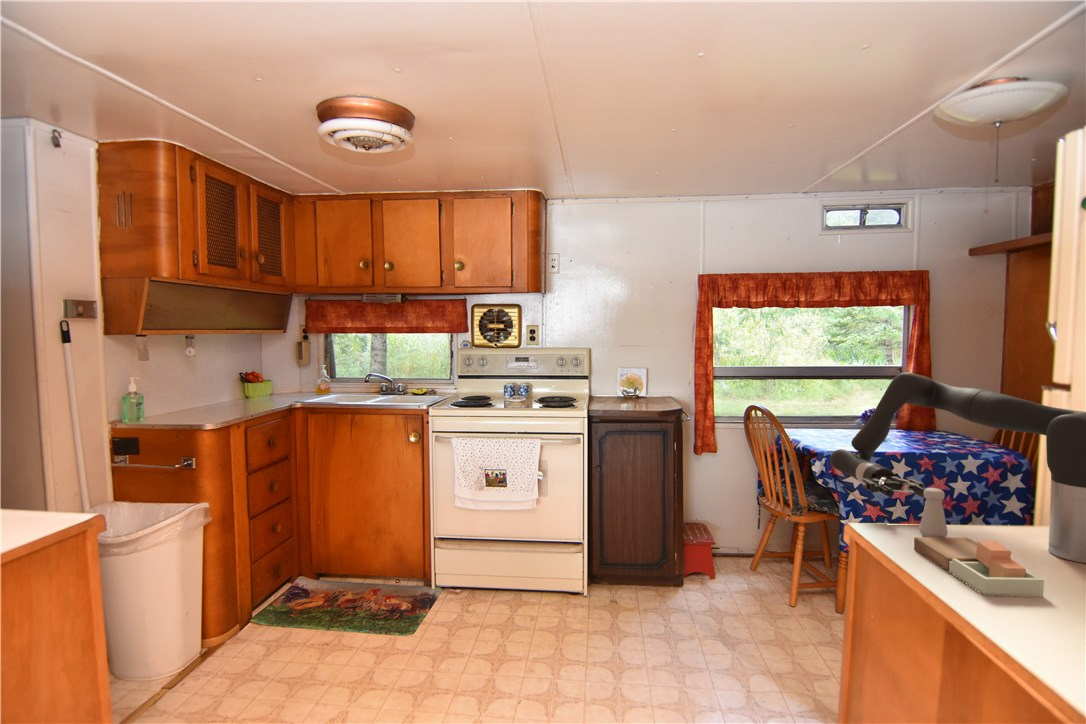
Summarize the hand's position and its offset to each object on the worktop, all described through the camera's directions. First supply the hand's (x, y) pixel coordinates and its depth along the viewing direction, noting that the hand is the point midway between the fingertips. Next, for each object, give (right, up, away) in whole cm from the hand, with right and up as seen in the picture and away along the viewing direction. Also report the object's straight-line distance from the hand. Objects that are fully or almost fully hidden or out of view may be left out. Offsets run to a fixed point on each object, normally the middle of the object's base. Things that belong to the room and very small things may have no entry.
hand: (907, 493), depth 147 cm
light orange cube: (-2, -8, -30) cm, 31 cm away
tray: (-5, -11, -34) cm, 36 cm away
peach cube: (-2, -8, -32) cm, 33 cm away
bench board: (-3, -10, -22) cm, 24 cm away
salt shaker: (0, -9, -10) cm, 14 cm away
